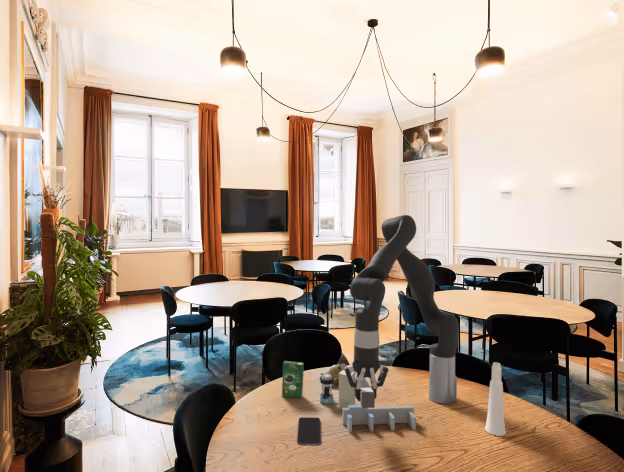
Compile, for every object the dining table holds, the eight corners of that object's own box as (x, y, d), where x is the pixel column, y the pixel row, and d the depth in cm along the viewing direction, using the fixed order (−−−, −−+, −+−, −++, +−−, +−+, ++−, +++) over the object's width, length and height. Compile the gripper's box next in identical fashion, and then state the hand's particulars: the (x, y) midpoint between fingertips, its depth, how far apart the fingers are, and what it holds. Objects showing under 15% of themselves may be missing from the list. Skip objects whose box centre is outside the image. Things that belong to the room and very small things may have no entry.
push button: (337, 399, 142) (337, 373, 141) (337, 405, 136) (337, 378, 136) (319, 398, 142) (319, 372, 142) (319, 405, 137) (319, 378, 136)
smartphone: (296, 443, 111) (298, 417, 126) (296, 447, 111) (298, 420, 126) (321, 444, 111) (320, 417, 126) (321, 447, 111) (320, 420, 126)
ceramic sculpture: (359, 365, 154) (323, 368, 152) (360, 385, 154) (324, 389, 152) (352, 356, 165) (319, 360, 162) (353, 376, 165) (320, 379, 162)
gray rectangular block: (353, 390, 122) (354, 378, 122) (364, 390, 122) (365, 378, 122) (362, 408, 110) (362, 394, 110) (374, 407, 110) (374, 393, 110)
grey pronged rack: (411, 420, 127) (412, 403, 127) (418, 429, 121) (419, 411, 120) (342, 422, 124) (342, 405, 124) (345, 432, 118) (345, 414, 118)
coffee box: (303, 395, 144) (304, 361, 144) (302, 398, 142) (302, 364, 141) (283, 393, 146) (284, 360, 146) (281, 396, 143) (282, 362, 143)
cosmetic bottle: (507, 438, 116) (508, 367, 116) (485, 434, 118) (487, 365, 118) (504, 428, 122) (505, 361, 122) (484, 425, 124) (485, 359, 124)
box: (355, 407, 136) (356, 371, 135) (351, 412, 132) (352, 375, 131) (341, 404, 138) (342, 369, 138) (337, 409, 134) (338, 373, 134)
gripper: (385, 339, 118) (384, 394, 118) (341, 340, 116) (340, 395, 116) (393, 347, 110) (392, 405, 110) (345, 347, 109) (344, 406, 109)
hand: (365, 399), depth 113 cm, fingers closed on gray rectangular block, 3 cm apart
